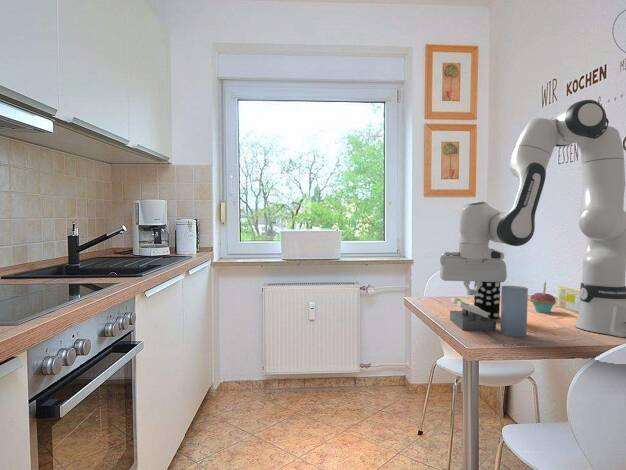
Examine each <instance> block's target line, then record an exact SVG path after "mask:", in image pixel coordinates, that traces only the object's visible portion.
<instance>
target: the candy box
mask: <svg viewBox="0 0 626 470" xmlns="http://www.w3.org/2000/svg"><path fill="white" fill-rule="evenodd" d="M557 289H558V290H557V301H556V302H557V303H556V304H557V305H556V306H557V307H559V308H562V309H563V310H564V309H565V310H568V311H571V312H573V313H576V314H579V309H580V304H581V299H580V290H578V289H573V288H569V287H565V286H558V288H557Z"/></svg>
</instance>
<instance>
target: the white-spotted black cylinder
mask: <svg viewBox="0 0 626 470" xmlns="http://www.w3.org/2000/svg"><path fill="white" fill-rule="evenodd" d="M475 286H476V284H475V283H474V288H475ZM474 288H473V289H474ZM473 305H474V306H477V307H479V308H480V309H481V310H483V311H485V312H487V313H489V315H488V317H490V318H491V319H493V320H495V321H496V320H499V319H500V313H501V282H482V285H481V287H480V288H479V290H478V295H477V296H475V295H473Z"/></svg>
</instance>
